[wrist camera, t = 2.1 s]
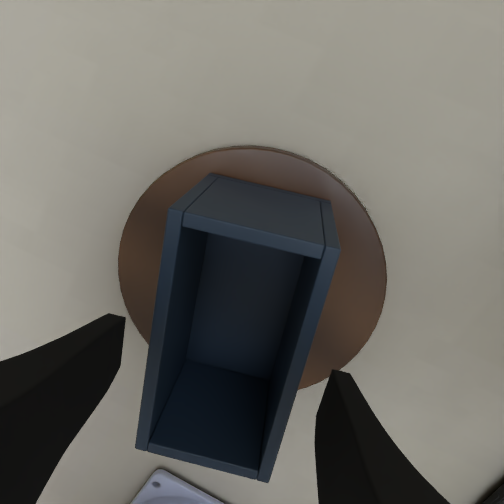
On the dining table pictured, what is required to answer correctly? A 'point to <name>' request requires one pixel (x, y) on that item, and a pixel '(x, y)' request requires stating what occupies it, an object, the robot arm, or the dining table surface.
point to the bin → (234, 322)
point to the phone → (496, 497)
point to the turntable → (281, 177)
